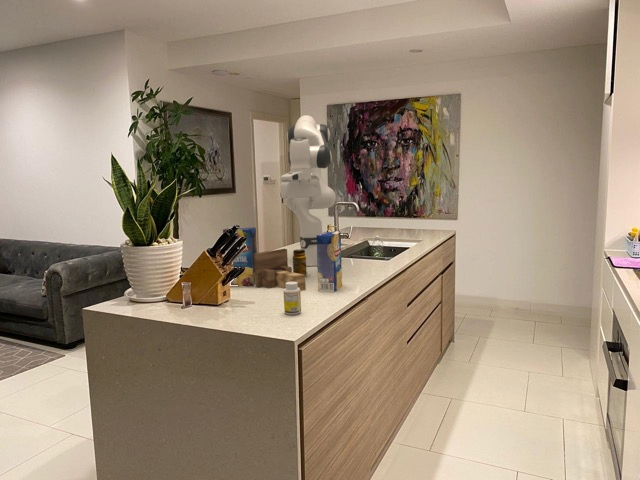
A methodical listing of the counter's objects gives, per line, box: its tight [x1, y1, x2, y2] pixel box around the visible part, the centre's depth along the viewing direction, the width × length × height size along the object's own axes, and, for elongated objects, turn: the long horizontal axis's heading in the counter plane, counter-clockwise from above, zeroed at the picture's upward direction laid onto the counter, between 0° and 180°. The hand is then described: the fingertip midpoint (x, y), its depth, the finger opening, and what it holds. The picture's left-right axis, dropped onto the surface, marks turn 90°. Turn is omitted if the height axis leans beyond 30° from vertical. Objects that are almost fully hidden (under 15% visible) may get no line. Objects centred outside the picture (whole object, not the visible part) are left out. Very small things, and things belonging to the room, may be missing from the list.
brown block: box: [254, 248, 293, 289], centre depth 206 cm, size 7×16×14 cm, turn 133°
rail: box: [275, 270, 307, 292], centre depth 200 cm, size 16×4×6 cm, turn 43°
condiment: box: [292, 248, 310, 278], centre depth 222 cm, size 7×8×12 cm
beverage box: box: [316, 231, 343, 293], centre depth 196 cm, size 7×11×22 cm, turn 164°
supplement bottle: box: [283, 282, 302, 316], centre depth 163 cm, size 6×6×10 cm
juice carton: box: [222, 226, 258, 288], centre depth 208 cm, size 12×8×24 cm, turn 80°
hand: (302, 208), depth 210 cm, fingers open, 8 cm apart
